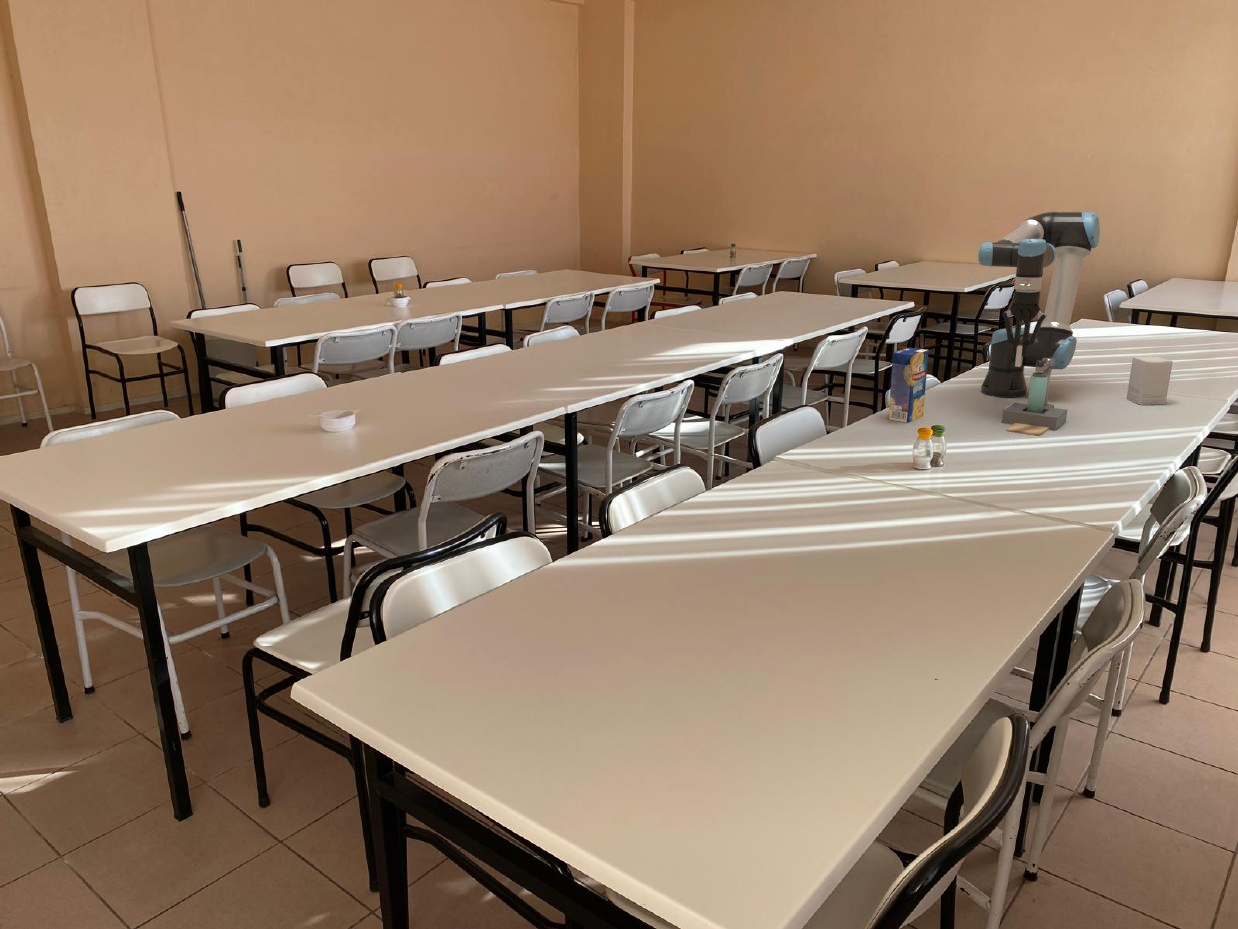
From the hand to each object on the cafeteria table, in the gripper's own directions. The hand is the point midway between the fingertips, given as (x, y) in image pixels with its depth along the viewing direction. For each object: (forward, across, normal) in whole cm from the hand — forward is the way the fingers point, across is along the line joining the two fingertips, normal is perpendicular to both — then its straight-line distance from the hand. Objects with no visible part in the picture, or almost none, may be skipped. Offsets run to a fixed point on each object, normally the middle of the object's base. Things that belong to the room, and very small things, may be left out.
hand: (1018, 365), depth 282 cm
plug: (+17, +7, -1) cm, 19 cm away
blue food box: (+18, -30, -15) cm, 38 cm away
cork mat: (+17, +7, -11) cm, 22 cm away
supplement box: (+18, +34, +45) cm, 59 cm away
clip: (+1, +7, +3) cm, 8 cm away
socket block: (+17, +7, +1) cm, 19 cm away
